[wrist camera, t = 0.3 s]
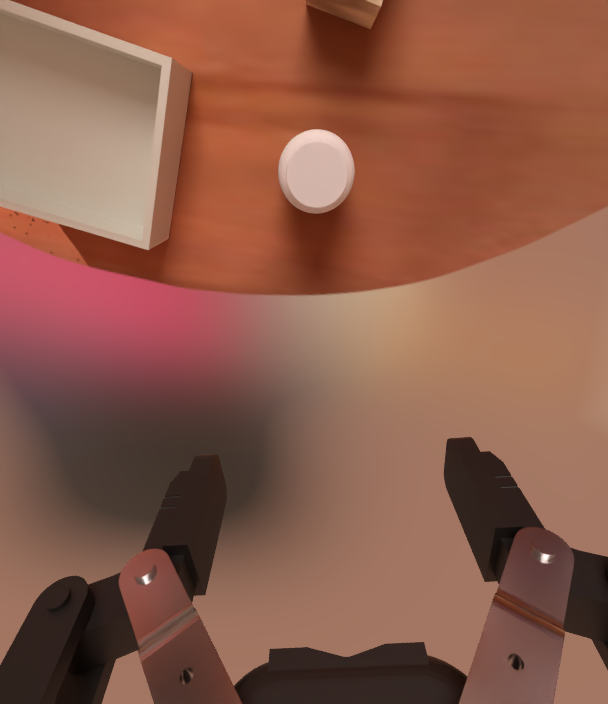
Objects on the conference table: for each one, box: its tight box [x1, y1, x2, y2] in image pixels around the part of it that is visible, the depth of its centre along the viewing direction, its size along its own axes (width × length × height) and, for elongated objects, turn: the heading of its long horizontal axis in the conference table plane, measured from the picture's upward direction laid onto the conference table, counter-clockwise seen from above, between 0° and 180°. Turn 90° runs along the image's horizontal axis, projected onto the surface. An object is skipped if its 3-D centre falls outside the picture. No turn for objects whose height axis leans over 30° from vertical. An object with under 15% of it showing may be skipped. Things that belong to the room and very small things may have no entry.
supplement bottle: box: [278, 129, 355, 214], centre depth 29 cm, size 5×5×10 cm
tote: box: [0, 0, 192, 250], centre depth 30 cm, size 17×13×5 cm
